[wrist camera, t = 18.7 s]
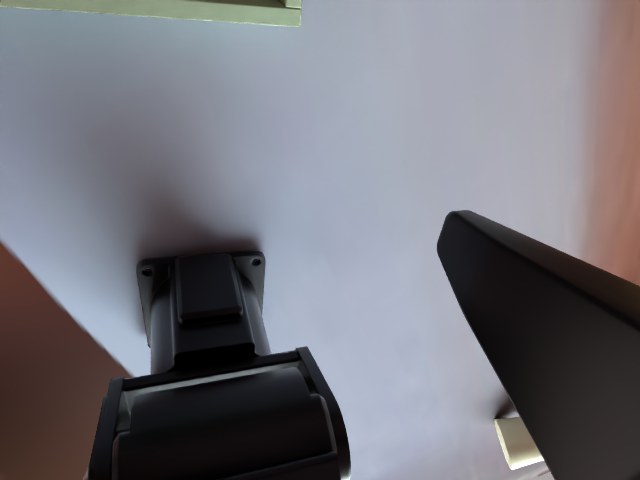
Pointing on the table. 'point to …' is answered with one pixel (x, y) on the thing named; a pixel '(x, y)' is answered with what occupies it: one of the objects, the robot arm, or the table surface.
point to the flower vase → (516, 442)
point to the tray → (180, 9)
